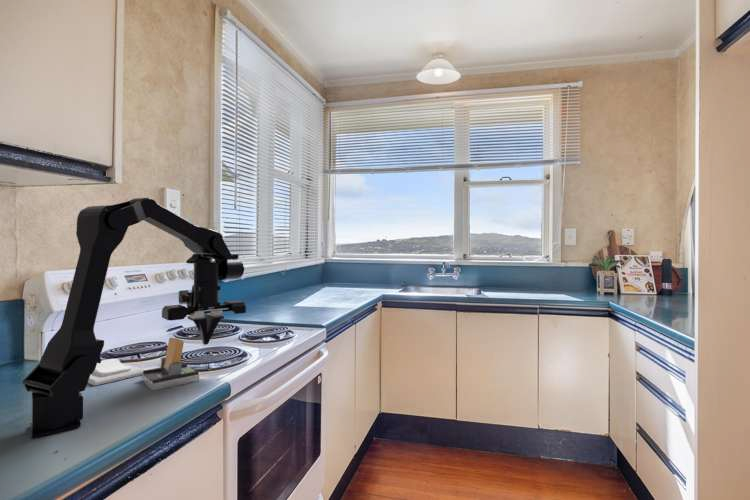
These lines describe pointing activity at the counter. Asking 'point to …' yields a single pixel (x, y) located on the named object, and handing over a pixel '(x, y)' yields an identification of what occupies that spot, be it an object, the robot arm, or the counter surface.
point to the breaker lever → (173, 352)
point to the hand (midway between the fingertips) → (205, 344)
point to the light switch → (112, 372)
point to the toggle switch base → (169, 375)
